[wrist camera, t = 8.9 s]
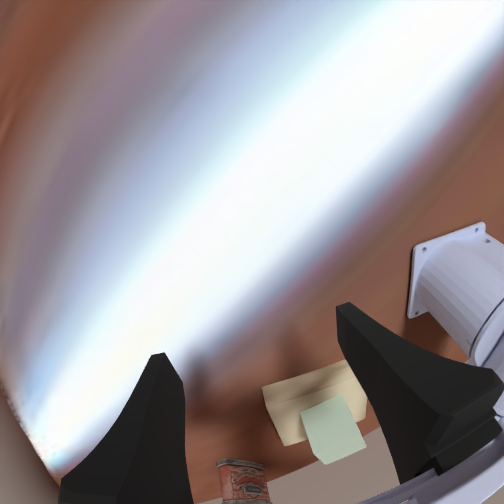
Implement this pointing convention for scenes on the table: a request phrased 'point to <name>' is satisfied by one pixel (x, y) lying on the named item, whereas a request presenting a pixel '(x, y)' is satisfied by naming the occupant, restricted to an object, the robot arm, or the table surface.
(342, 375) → the maple block
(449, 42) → the table surface
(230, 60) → the table surface
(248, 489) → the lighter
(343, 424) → the sage block
